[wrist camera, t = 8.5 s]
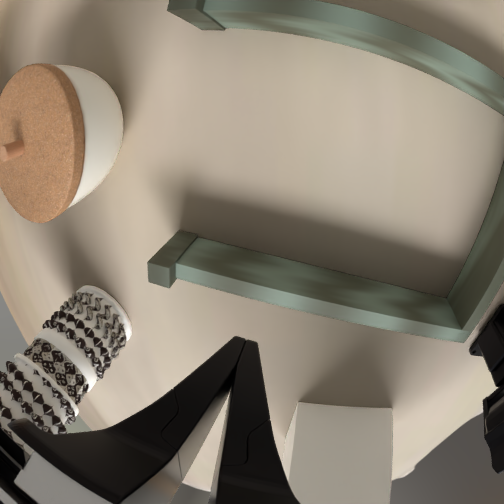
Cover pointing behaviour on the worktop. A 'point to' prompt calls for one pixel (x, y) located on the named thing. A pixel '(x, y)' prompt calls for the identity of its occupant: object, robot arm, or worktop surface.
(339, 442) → the milk
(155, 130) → the worktop surface
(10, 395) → the decorative candle
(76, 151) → the lidded jar
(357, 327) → the worktop surface
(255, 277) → the green shallow rectangular frame
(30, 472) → the robot arm
